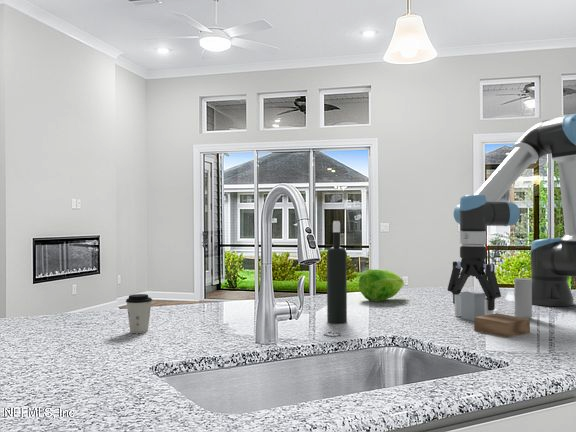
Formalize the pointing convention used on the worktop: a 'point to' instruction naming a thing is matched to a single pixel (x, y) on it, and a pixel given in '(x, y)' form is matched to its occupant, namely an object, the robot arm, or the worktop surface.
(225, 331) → the worktop surface
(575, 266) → the robot arm
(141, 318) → the coffee cup
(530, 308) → the beverage can
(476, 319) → the walnut block
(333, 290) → the wine bottle
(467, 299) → the slate block
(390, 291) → the lettuce
